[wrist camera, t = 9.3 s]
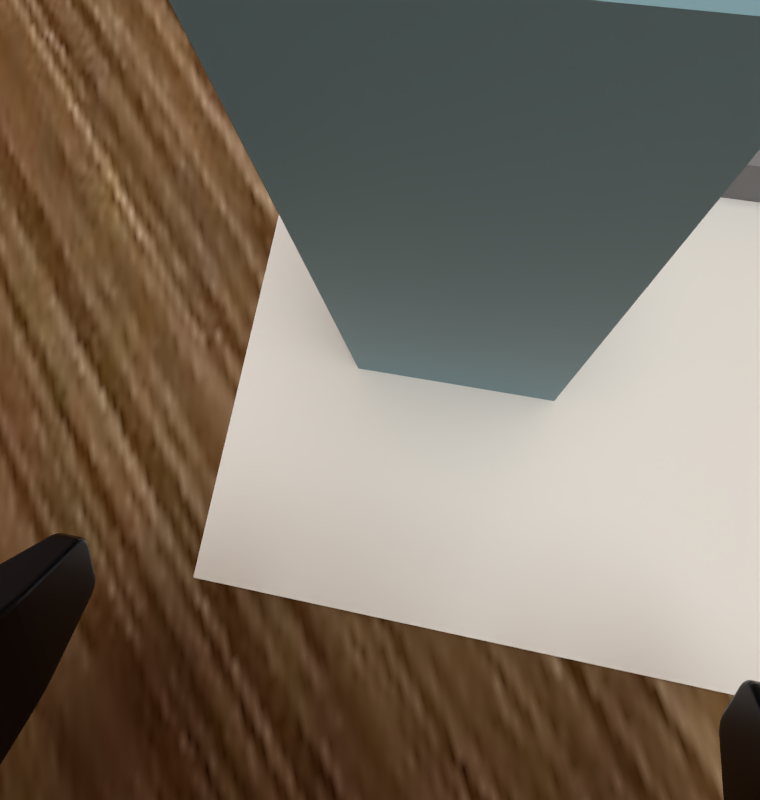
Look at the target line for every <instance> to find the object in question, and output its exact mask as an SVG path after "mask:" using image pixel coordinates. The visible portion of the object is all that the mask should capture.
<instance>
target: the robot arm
mask: <svg viewBox="0 0 760 800" xmlns="http://www.w3.org/2000/svg"><path fill="white" fill-rule="evenodd" d="M94 585H95V573H94V568H93V564H92V559H91V555H90V550H89V546H88V543H87V541H86V540H85V539H84V538H82V537H78V536H73V535H68V534H64V533H57V534H54V535H52V536H49V537H48V538H46V539H44V540H42V541H41V542H39V543H37V544H35V545H34V546H32V547H30V548H28V549H26V550H25V551H23V552H21V553H19V554H18V555H16V556H14V557H12V558H10V559H9V560H7V561H5V562H3V563H2V564H0V764H1V763H2V761H3V759H4V758H5V756H6V755H7V753H8V751H9V750H10V748H11V746H12V745H13V743H14V741H15V740H16V738H17V737H18V735H19V733H20V732H21V730H22V728H23V727H24V725H25V723H26V722H27V720H28V719H29V717H30V715H31V714H32V712H33V710H34V709H35V707H36V705H37V704H38V702H39V700H40V698H41V697H42V695H43V693H44V692H45V690H46V688H47V686H48V684H49V682H50V680H51V678H52V676H53V674H54V672H55V670H56V668H57V666H58V664H59V662H60V659H61V657H62V655H63V653H64V651H65V649H66V647H67V645H68V643H69V641H70V639H71V636H72V634H73V632H74V630H75V628H76V626H77V624H78V622H79V620H80V618H81V616H82V613H83V611H84V609H85V607H86V605H87V603H88V601H89V599H90V597H91V595H92V592H93V589H94ZM719 737H720V752H721V766H722V781H723V795H724V800H760V682H758V681H754V680H747V681H745V682H743V683H742V684H741V685H740V687H739V688H738V690H737V692H736V693H735V695H734V696H733V698H732V700H731V701H730V703H729V705H728V706H727V708H726V710H725V711H724V713H723V715H722V718H721V721H720V728H719Z"/></svg>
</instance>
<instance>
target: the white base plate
mask: <svg viewBox="0 0 760 800" xmlns="http://www.w3.org/2000/svg"><path fill="white" fill-rule="evenodd" d="M193 578H198V579H202V580H207V581H212V582H216V583H221V584H225V585H230V586H235V587H239V588H244V589H248V590H253V591H258V592H262V593H267V594H271V595H276V596H281V597H285V598H290V599H295V600H299V601H304V602H308V603H313V604H318V605H322V606H327V607H331V608H336V609H341V610H345V611H350V612H354V613H359V614H364V615H368V616H373V617H377V618H382V619H387V620H391V621H396V622H400V623H405V624H410V625H414V626H419V627H423V628H428V629H433V630H437V631H442V632H446V633H451V634H456V635H460V636H465V637H469V638H474V639H479V640H483V641H488V642H492V643H497V644H502V645H506V646H511V647H515V648H520V649H525V650H529V651H534V652H538V653H543V654H548V655H552V656H557V657H561V658H566V659H571V660H575V661H580V662H584V663H589V664H594V665H598V666H603V667H608V668H612V669H617V670H621V671H626V672H631V673H635V674H640V675H644V676H649V677H654V678H658V679H663V680H667V681H672V682H677V683H681V684H686V685H690V686H695V687H700V688H704V689H709V690H713V691H718V692H723V693H727V694H732V695H735V693H736V692H737V690H738V688H739V687H740V685H741V684H742V683H743V682H745V681H747V680H754V681H758V682H760V150H759V151H758V152H757V153H756V155H755V156H754V157H753V158H752V159H751V161H750V162H749V163H748V164H747V166H746V167H745V168H744V169H743V170H742V172H741V173H740V174H739V175H738V177H737V178H736V179H735V180H734V181H733V183H732V184H731V185H730V186H729V188H728V189H727V190H726V191H725V192H724V194H723V195H722V196H721V197H720V199H719V200H718V201H717V202H716V204H715V205H714V206H713V207H712V208H711V210H710V211H709V212H708V213H707V215H706V216H705V217H704V218H703V219H702V221H701V222H700V223H699V224H698V226H697V227H696V228H695V229H694V230H693V232H692V233H691V234H690V235H689V237H688V238H687V239H686V240H685V241H684V243H683V244H682V245H681V246H680V248H679V249H678V250H677V251H676V253H675V254H674V255H673V256H672V257H671V259H670V260H669V261H668V262H667V264H666V265H665V266H664V267H663V268H662V270H661V271H660V272H659V273H658V275H657V276H656V277H655V278H654V279H653V281H652V282H651V283H650V284H649V286H648V287H647V288H646V289H645V290H644V292H643V293H642V294H641V295H640V297H639V298H638V299H637V300H636V302H635V303H634V304H633V305H632V306H631V308H630V309H629V310H628V311H627V313H626V314H625V315H624V316H623V317H622V319H621V320H620V321H619V322H618V324H617V325H616V326H615V327H614V328H613V330H612V331H611V332H610V333H609V335H608V336H607V337H606V338H605V339H604V341H603V342H602V343H601V344H600V346H599V347H598V348H597V349H596V350H595V352H594V353H593V354H592V355H591V357H590V358H589V359H588V360H587V362H586V363H585V364H584V365H583V366H582V368H581V369H580V370H579V371H578V373H577V374H576V375H575V376H574V377H573V379H572V380H571V381H570V382H569V384H568V385H567V386H566V387H565V388H564V390H563V391H562V392H561V393H560V395H559V396H558V397H557V398H556V399H555V401H551V400H545V399H539V398H533V397H527V396H521V395H515V394H509V393H503V392H497V391H491V390H485V389H479V388H473V387H467V386H461V385H455V384H449V383H443V382H437V381H431V380H425V379H419V378H413V377H407V376H401V375H395V374H389V373H383V372H377V371H371V370H365V369H359V368H358V367H357V365H356V363H355V361H354V359H353V357H352V355H351V353H350V351H349V349H348V347H347V345H346V343H345V342H344V340H343V338H342V336H341V334H340V332H339V330H338V328H337V326H336V324H335V322H334V320H333V318H332V316H331V314H330V312H329V310H328V309H327V307H326V305H325V303H324V301H323V299H322V297H321V295H320V293H319V291H318V289H317V287H316V285H315V283H314V281H313V279H312V277H311V276H310V274H309V272H308V270H307V268H306V266H305V264H304V262H303V260H302V258H301V256H300V254H299V252H298V250H297V248H296V246H295V244H294V243H293V241H292V239H291V237H290V235H289V233H288V231H287V229H286V227H285V225H284V223H283V221H282V219H281V217H280V215H279V217H278V221H277V225H276V230H275V234H274V238H273V242H272V246H271V251H270V255H269V259H268V263H267V268H266V272H265V276H264V280H263V284H262V289H261V293H260V297H259V301H258V306H257V310H256V314H255V318H254V323H253V327H252V331H251V335H250V339H249V344H248V348H247V352H246V356H245V361H244V365H243V369H242V373H241V377H240V382H239V386H238V390H237V394H236V399H235V403H234V407H233V411H232V415H231V420H230V424H229V428H228V432H227V437H226V441H225V445H224V449H223V454H222V458H221V462H220V466H219V470H218V475H217V479H216V483H215V487H214V492H213V496H212V500H211V504H210V508H209V513H208V517H207V521H206V525H205V530H204V534H203V538H202V542H201V547H200V551H199V555H198V559H197V563H196V568H195V572H194V576H193Z"/></svg>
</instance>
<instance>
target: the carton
mask: <svg viewBox="0 0 760 800" xmlns="http://www.w3.org/2000/svg"><path fill="white" fill-rule="evenodd" d="M169 2H170V4H171V6H172V8H173V10H174V11H175V13H176V15H177V17H178V19H179V21H180V23H181V25H182V27H183V29H184V31H185V33H186V35H187V37H188V39H189V41H190V43H191V44H192V46H193V48H194V50H195V52H196V54H197V56H198V58H199V60H200V62H201V64H202V66H203V68H204V70H205V72H206V74H207V76H208V77H209V79H210V81H211V83H212V85H213V87H214V89H215V91H216V93H217V95H218V97H219V99H220V101H221V103H222V105H223V107H224V109H225V110H226V112H227V114H228V116H229V118H230V120H231V122H232V124H233V126H234V128H235V130H236V132H237V134H238V136H239V138H240V140H241V142H242V143H243V145H244V147H245V149H246V151H247V153H248V155H249V157H250V159H251V161H252V163H253V165H254V167H255V169H256V171H257V173H258V175H259V176H260V178H261V180H262V182H263V184H264V186H265V188H266V190H267V192H268V194H269V196H270V198H271V200H272V202H273V204H274V206H275V208H276V210H277V211H278V213H279V215H280V217H281V219H282V221H283V223H284V225H285V227H286V229H287V231H288V233H289V235H290V237H291V239H292V241H293V243H294V244H295V246H296V248H297V250H298V252H299V254H300V256H301V258H302V260H303V262H304V264H305V266H306V268H307V270H308V272H309V274H310V276H311V277H312V279H313V281H314V283H315V285H316V287H317V289H318V291H319V293H320V295H321V297H322V299H323V301H324V303H325V305H326V307H327V309H328V310H329V312H330V314H331V316H332V318H333V320H334V322H335V324H336V326H337V328H338V330H339V332H340V334H341V336H342V338H343V340H344V342H345V343H346V345H347V347H348V349H349V351H350V353H351V355H352V357H353V359H354V361H355V363H356V365H357V367H358V368H359V369H365V370H371V371H377V372H383V373H389V374H395V375H401V376H407V377H413V378H419V379H425V380H431V381H437V382H443V383H449V384H455V385H461V386H467V387H473V388H479V389H485V390H491V391H497V392H503V393H509V394H515V395H521V396H527V397H533V398H539V399H545V400H551V401H555V399H556V398H557V397H558V396H559V395H560V393H561V392H562V391H563V390H564V388H565V387H566V386H567V385H568V384H569V382H570V381H571V380H572V379H573V377H574V376H575V375H576V374H577V373H578V371H579V370H580V369H581V368H582V366H583V365H584V364H585V363H586V362H587V360H588V359H589V358H590V357H591V355H592V354H593V353H594V352H595V350H596V349H597V348H598V347H599V346H600V344H601V343H602V342H603V341H604V339H605V338H606V337H607V336H608V335H609V333H610V332H611V331H612V330H613V328H614V327H615V326H616V325H617V324H618V322H619V321H620V320H621V319H622V317H623V316H624V315H625V314H626V313H627V311H628V310H629V309H630V308H631V306H632V305H633V304H634V303H635V302H636V300H637V299H638V298H639V297H640V295H641V294H642V293H643V292H644V290H645V289H646V288H647V287H648V286H649V284H650V283H651V282H652V281H653V279H654V278H655V277H656V276H657V275H658V273H659V272H660V271H661V270H662V268H663V267H664V266H665V265H666V264H667V262H668V261H669V260H670V259H671V257H672V256H673V255H674V254H675V253H676V251H677V250H678V249H679V248H680V246H681V245H682V244H683V243H684V241H685V240H686V239H687V238H688V237H689V235H690V234H691V233H692V232H693V230H694V229H695V228H696V227H697V226H698V224H699V223H700V222H701V221H702V219H703V218H704V217H705V216H706V215H707V213H708V212H709V211H710V210H711V208H712V207H713V206H714V205H715V204H716V202H717V201H718V200H719V199H720V197H721V196H722V195H723V194H724V192H725V191H726V190H727V189H728V188H729V186H730V185H731V184H732V183H733V181H734V180H735V179H736V178H737V177H738V175H739V174H740V173H741V172H742V170H743V169H744V168H745V167H746V166H747V164H748V163H749V162H750V161H751V159H752V158H753V157H754V156H755V155H756V153H757V152H758V151H759V150H760V0H169Z"/></svg>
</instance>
